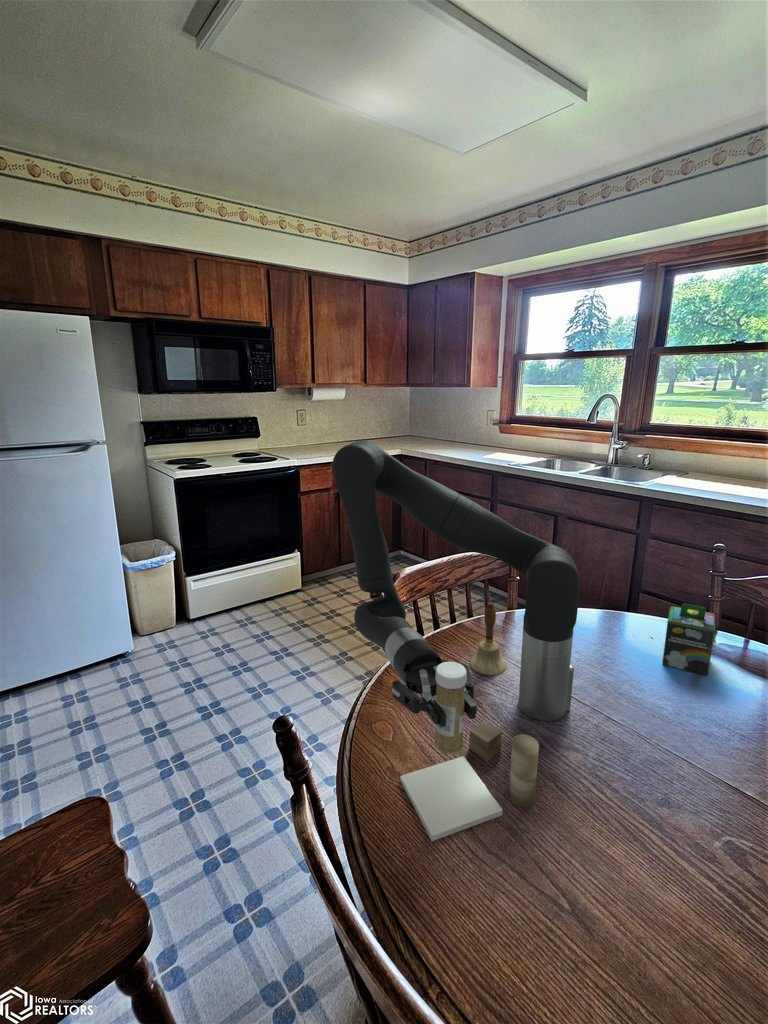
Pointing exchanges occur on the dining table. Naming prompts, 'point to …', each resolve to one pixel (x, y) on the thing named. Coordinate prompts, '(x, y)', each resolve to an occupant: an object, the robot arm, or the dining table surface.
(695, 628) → the chalk box
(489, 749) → the walnut block
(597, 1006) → the dining table surface
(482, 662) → the hand bell
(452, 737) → the sprinkles bottle
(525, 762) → the beech dowel
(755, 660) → the dining table surface
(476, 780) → the ceramic tile
